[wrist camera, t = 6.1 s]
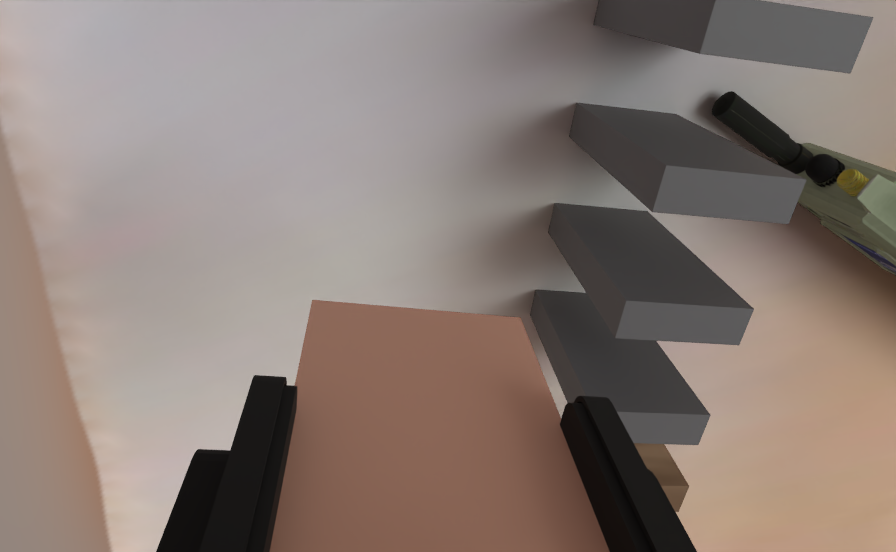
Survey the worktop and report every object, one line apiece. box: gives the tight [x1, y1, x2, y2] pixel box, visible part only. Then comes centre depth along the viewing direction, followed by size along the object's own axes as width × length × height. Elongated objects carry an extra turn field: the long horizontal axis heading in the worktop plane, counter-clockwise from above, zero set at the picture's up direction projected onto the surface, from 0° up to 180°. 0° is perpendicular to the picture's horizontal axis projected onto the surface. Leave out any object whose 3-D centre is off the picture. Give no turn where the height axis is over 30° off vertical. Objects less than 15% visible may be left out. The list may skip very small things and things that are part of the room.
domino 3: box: [569, 103, 806, 224], centre depth 24 cm, size 2×5×10 cm, turn 83°
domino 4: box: [548, 203, 754, 345], centre depth 26 cm, size 2×5×10 cm, turn 83°
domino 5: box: [530, 290, 710, 445], centre depth 29 cm, size 2×5×10 cm, turn 83°
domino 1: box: [270, 300, 610, 552], centre depth 10 cm, size 2×5×10 cm, turn 81°
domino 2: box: [594, 0, 873, 73], centre depth 22 cm, size 2×5×10 cm, turn 83°
